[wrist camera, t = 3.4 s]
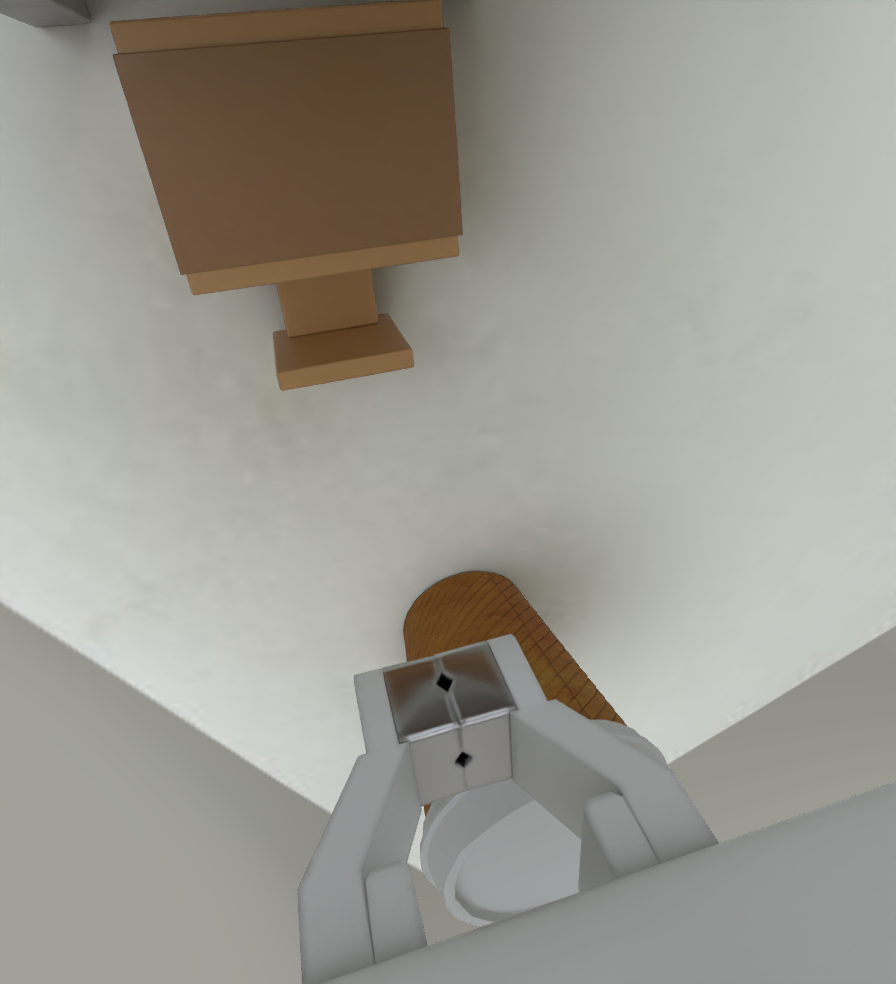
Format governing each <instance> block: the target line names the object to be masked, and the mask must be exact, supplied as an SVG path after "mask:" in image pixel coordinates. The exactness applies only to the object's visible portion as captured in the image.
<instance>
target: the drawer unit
mask: <svg viewBox="0 0 896 984" xmlns="http://www.w3.org/2000/svg"><path fill="white" fill-rule="evenodd" d="M0 13H2V14H4V15H7V16H9V17H12V18H14V19H17V20H19V21H22V22H24V23H27V24H29V25H32V26H34V27H48V26H62V25H76V24H90V23H91V18H90V15H89V12H88V9H87V6H86V3H85V0H0Z"/></svg>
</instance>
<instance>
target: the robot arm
mask: <svg viewBox="0 0 896 984" xmlns="http://www.w3.org/2000/svg"><path fill="white" fill-rule="evenodd" d="M382 671H383V673H382ZM383 676H384V677H383ZM354 686H355V691H356V697H357V703H358V708H359V714H360V720H361V725H362V731H363V737H364V742H365V748H366V754H364V755H361V756H358V758H357V760H356V762H355V764H354V767H353V769H352V771H351V773H350V775H349V778H348V780H347V782H346V784H345V786H344V789H343V791H342V793H341V795H340V797H339V800H338V802H337V804H336V806H335V808H334V811H333V813H332V815H331V817H330V820H329V822H328V824H327V826H326V828H325V830H324V833H323V835H322V837H321V839H320V841H319V844H318V846H317V848H316V850H315V852H314V855H313V857H312V859H311V861H310V863H309V866H308V868H307V870H306V872H305V874H304V876H303V879H302V881H301V883H300V885H299V887H298V890H297V891H298V911H299V931H300V951H301V971H302V984H896V781H894V782H891V783H888V784H885V785H882V786H880V787H877V788H874V789H871V790H868V791H866V792H863V793H860V794H857V795H854V796H851V797H849V798H846V799H843V800H841V801H837V802H835V803H832V804H829V805H826V806H823V807H820V808H817V809H815V810H812V811H809V812H806V813H803V814H801V815H798V816H795V817H792V818H789V819H786V820H783V821H781V822H778V823H775V824H772V825H769V826H766V827H763V828H761V829H758V830H755V831H752V832H749V833H746V834H744V835H741V836H738V837H735V838H732V839H729V840H727V841H724V842H721V843H719V842H718V841H717V839H716V838H715V836H714V835H713V833H712V831H711V830H710V828H709V827H708V825H707V824H706V822H705V820H704V819H703V817H702V816H701V814H700V813H699V811H698V810H697V808H696V806H695V805H694V803H693V802H692V800H691V799H690V797H689V796H688V794H687V792H686V791H685V789H684V788H683V786H682V785H681V783H680V782H679V780H678V778H677V777H676V775H675V774H674V772H673V771H672V770H671V769H670V768H668V767H667V766H665V765H663V764H662V763H660V762H658V761H657V760H655V759H653V758H652V757H650V756H648V755H647V754H645V753H643V752H642V751H640V750H638V749H637V748H635V747H634V746H632V745H630V744H629V743H627V742H625V741H624V740H622V739H620V738H619V737H617V736H615V735H614V734H612V733H610V732H609V731H607V730H605V729H604V728H602V727H601V726H599V725H597V724H596V723H594V722H592V721H591V720H589V719H587V718H586V717H584V716H582V715H581V714H579V713H577V712H576V711H574V710H572V709H571V708H569V707H568V706H566V705H564V704H563V703H561V702H559V701H558V700H556V699H554V700H550V701H547V699H546V697H545V695H544V693H543V691H542V689H541V687H540V685H539V683H538V681H537V679H536V677H535V675H534V673H533V671H532V669H531V667H530V665H529V663H528V661H527V659H526V658H525V656H524V654H523V652H522V650H521V648H520V646H519V644H518V642H517V640H516V638H515V637H514V636H513V635H512V634H509V635H505V636H501V637H497V638H494V639H490V640H486V642H485V641H482V642H478V643H475V644H471V645H467V646H464V647H460V648H457V649H453V650H449V651H446V652H442V653H439V654H435V655H434V656H430V657H426V658H422V659H417V660H413V661H409V662H405V663H401V664H397V665H392V666H388V667H384V668H382V670H381V669H377V670H373V671H369V672H365V673H361V674H357V675H354ZM512 778H513V781H514V782H515V783H516V784H517V785H519V786H520V787H521V788H522V789H523V790H524V791H525V792H527V793H528V794H529V795H530V796H531V797H532V798H534V799H535V800H536V801H537V802H538V803H539V804H540V805H542V806H543V807H544V808H545V809H546V810H547V811H548V812H550V813H551V814H552V815H553V816H554V817H555V818H557V819H558V820H559V821H560V822H561V823H562V824H563V825H565V826H566V827H567V828H568V829H569V830H570V831H572V832H573V833H574V834H575V835H576V836H577V837H578V838H580V839H581V852H580V866H579V881H578V888H579V891H580V892H579V893H576V894H573V895H570V896H567V897H565V898H562V899H559V900H556V901H553V902H550V903H547V904H545V905H542V906H539V907H536V908H533V909H530V910H528V911H525V912H522V913H519V914H516V915H513V916H511V917H508V918H505V919H502V920H499V921H496V922H494V923H491V924H488V925H485V926H482V927H479V928H477V929H474V930H471V931H468V932H466V933H462V934H460V935H457V936H454V937H451V938H448V939H446V940H443V941H440V942H437V943H434V944H431V945H429V946H428V945H427V941H426V937H425V932H424V927H423V923H422V919H421V914H420V910H419V906H418V902H417V896H416V892H415V888H414V883H413V879H412V874H411V870H410V866H409V865H407V860H408V857H409V853H410V850H411V846H412V842H413V839H414V835H415V832H416V828H417V825H418V821H419V818H420V814H421V810H422V809H421V806H424V805H427V804H430V803H433V802H436V801H439V800H442V799H445V798H448V797H451V796H454V795H457V794H460V793H463V792H465V791H469V790H472V789H476V788H480V787H483V786H487V785H490V784H494V783H497V782H501V781H505V780H508V779H512Z"/></svg>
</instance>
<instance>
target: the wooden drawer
mask: <svg viewBox="0 0 896 984" xmlns="http://www.w3.org/2000/svg"><path fill="white" fill-rule="evenodd" d="M110 28H111V32H112V35H113V38H114V41H115V45H116V48H117V51H118V54H113V59H114V62H115V65H116V68H117V72H118V75H119V78H120V81H121V84H122V88H123V91H124V94H125V97H126V100H127V104H128V107H129V110H130V113H131V116H132V120H133V123H134V126H135V129H136V132H137V136H138V139H139V142H140V145H141V148H142V152H143V155H144V158H145V161H146V164H147V168H148V171H149V174H150V177H151V180H152V184H153V187H154V190H155V193H156V196H157V200H158V203H159V206H160V209H161V212H162V216H163V219H164V222H165V225H166V228H167V232H168V235H169V238H170V241H171V244H172V248H173V251H174V254H175V257H176V260H177V264H178V267H179V270H180V273H181V275H184V274H186V276H187V279H188V282H189V285H190V289H191V292H192V294H193V295H200V294H207V293H214V292H220V291H227V290H234V289H241V288H247V287H254V286H261V285H267V284H274V283H276V286H277V291H278V295H279V299H280V304H281V308H282V312H283V317H284V321H285V325H286V330H281V331H275V332H273V343H274V354H275V364H276V374H277V378H278V382H279V386H280V389H281V390H282V391H284V390H290V389H295V388H301V387H306V386H312V385H317V384H323V383H328V382H334V381H340V380H345V379H351V378H356V377H362V376H367V375H373V374H378V373H384V372H390V371H395V370H401V369H406V368H412V367H414V360H413V351H412V349H411V347H410V346H409V344H408V343H407V341H406V340H405V338H404V337H403V336H402V334H401V333H400V331H399V330H398V328H397V327H396V325H395V324H394V322H393V321H392V319H391V318H390V316H389V315H388V314H387V313H386V314H379V315H378V314H377V307H376V300H375V293H374V286H373V280H372V273H371V269H375V268H382V267H388V266H395V265H402V264H409V263H415V262H422V261H429V260H436V259H442V258H449V257H456V256H458V255H459V246H458V235H462V234H463V231H462V216H461V200H460V185H459V170H458V154H457V139H456V124H455V108H454V93H453V78H452V62H451V47H450V32H449V28H443V16H442V2H441V0H406V1H392V2H378V3H363V4H349V5H335V6H320V7H306V8H292V9H277V10H263V11H249V12H234V13H220V14H206V15H191V16H177V17H163V18H148V19H134V20H120V21H111V22H110Z"/></svg>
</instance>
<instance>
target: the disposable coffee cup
mask: <svg viewBox="0 0 896 984" xmlns="http://www.w3.org/2000/svg"><path fill="white" fill-rule="evenodd" d="M524 598H525V597H524V596H523V595H522V594H521V592H520V591H519V590H518V588H517V587H516V586H515V585H514V584H513V583H512V582H511V581H510V580H508V579H507V578H505V577H503V576H501V575H498V574H495V573H490V572H480V571H478V572H467V573H462V574H457V575H454V576H452V577H449V578H446V579H444V580H442V581H440V582H438V583H437V584H435V585H433V586H432V587H431V588H429V589H428V590H427V591H425V592H424V593H423V594H422V595H421V596H420V597H419V598H418V599H417V600H416V601H415V602H414V604H413V606H412V607H411V609H410V610H409V612H408V614H407V617H406V619H405V622H404V628H403V633H404V641H405V648H406V657H407V662H409V661H413V660H417V659H422V658H426V657H430V656H434V655H435V654H439V653H442V652H446V651H449V650H453V649H457V648H460V647H464V646H467V645H471V644H475V643H478V642H482V641H485V642H486V640H490V639H494V638H497V637H501V636H505V635H509V634H512V635H513V636H514V637H515V638H516V640H517V642H518V644H519V646H520V648H521V650H522V652H523V654H524V656H525V658H526V659H527V661H528V663H529V665H530V667H531V669H532V671H533V673H534V675H535V677H536V679H537V681H538V683H539V685H540V687H541V689H542V691H543V693H544V695H545V697H546V699H547V701H550V700H554V699H556V700H558V701H559V702H561V703H563V704H564V705H566V706H568V707H569V708H571V709H572V710H574V711H576V712H577V713H579V714H581V715H582V716H584V717H586V718H587V719H589V720H591V721H592V722H594V723H596V724H597V725H599V726H601V727H602V728H604V729H605V730H607V731H609V732H610V733H612V734H614V735H615V736H617V737H619V738H620V739H622V740H624V741H625V742H627V743H629V744H630V745H632V746H634V747H635V748H637V749H638V750H640V751H642V752H643V753H645V754H647V755H648V756H650V757H652V758H653V759H655V760H657V761H658V762H660V763H662V764H663V765H665V766H667V767H668V765H667V763H666V761H665V759H664V756H663V755H662V753H661V752H660V751H659V749H658V748H657V747H655V746H654V745H653V744H652V743H651V742H649V741H648V740H647V739H646V738H644V737H642V736H640V735H639V734H638V733H637V732H636V731H635V730H634V729H632V728H629V727H627V725H626V724H625V723H624V721H623V720H622V719H621V717H620V716H619V715H618V714H617V713H616V712H615V711H614V708H613V707H612V706H611V705H610V704H609V703H608V702H607V701H606V700H605V697H604V696H603V695H602V694H601V693H600V691H599V690H598V689H596V686H595V685H594V684H593V682H592V681H591V680H590V679H589V678H587V675H586V673H585V672H584V671H583V670H582V669H581V668H580V666H579V665H578V664H577V663H576V661H575V660H574V659H573V658H572V656H571V655H570V654H569V653H568V651H567V650H566V649H564V646H563V645H562V644H561V643H560V641H559V640H558V639H557V638H556V636H555V635H554V634H553V633H552V632H551V631H550V628H549V627H548V626H547V625H546V624H545V623H544V622H543V620H542V619H541V617H540V616H539V615H538V614H537V612H536V611H535V610H534V609H533V608H532V607H531V606H530V604H529V602H528V601H527V600H526V599H524ZM424 811H425V820H424V823H423V837H422V840H421V844H420V858H421V867H422V870H423V872H424V874H425V876H426V878H427V879H428V880H429V882H430V883H431V884H433V886H434V887H436V888H437V889H438V890H439V892H440V894H441V896H442V898H443V900H444V903H445V905H446V907H447V908H448V909H449V911H450V912H451V913H452V914H453V916H455V917H456V918H458V919H459V920H461V921H464V922H466V923H469V924H472V925H474V926H485V925H488V924H491V923H494V922H496V921H499V920H502V919H505V918H508V917H511V916H513V915H516V914H519V913H522V912H525V911H528V910H530V909H533V908H536V907H539V906H542V905H545V904H547V903H550V902H553V901H556V900H559V899H562V898H565V897H567V896H570V895H573V894H576V893H579V892H580V891H579V888H578V881H579V866H580V852H581V839H580V838H578V837H577V836H576V835H575V834H574V833H573V832H572V831H570V830H569V829H568V828H567V827H566V826H565V825H563V824H562V823H561V822H560V821H559V820H558V819H557V818H555V817H554V816H553V815H552V814H551V813H550V812H548V811H547V810H546V809H545V808H544V807H543V806H542V805H540V804H539V803H538V802H537V801H536V800H535V799H534V798H532V797H531V796H530V795H529V794H528V793H527V792H525V791H524V790H523V789H522V788H521V787H520V786H519V785H517V784H516V783H515V782H514V781H513V778H512V779H508V780H505V781H501V782H497V783H494V784H490V785H487V786H483V787H480V788H476V789H472V790H469V791H465V792H463V793H460V794H457V795H454V796H451V797H448V798H445V799H442V800H439V801H436V802H433V803H430V804H427V805H424Z"/></svg>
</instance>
